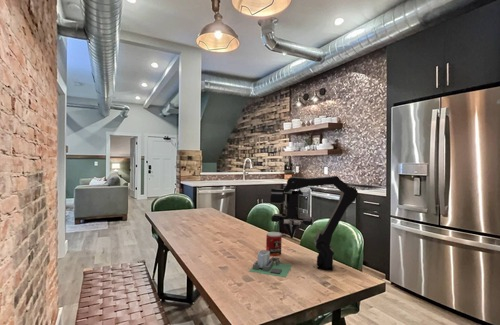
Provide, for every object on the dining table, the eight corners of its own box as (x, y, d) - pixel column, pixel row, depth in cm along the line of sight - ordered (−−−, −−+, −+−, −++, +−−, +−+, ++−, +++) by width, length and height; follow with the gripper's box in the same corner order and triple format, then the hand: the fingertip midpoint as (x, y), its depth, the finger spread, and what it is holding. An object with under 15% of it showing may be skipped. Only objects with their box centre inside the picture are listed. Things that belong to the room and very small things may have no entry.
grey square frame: (273, 265, 126) (273, 260, 126) (268, 271, 118) (268, 267, 118) (258, 263, 128) (258, 258, 128) (252, 269, 121) (253, 264, 121)
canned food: (269, 258, 137) (269, 236, 137) (263, 253, 145) (264, 232, 145) (283, 257, 139) (284, 235, 139) (277, 252, 147) (278, 231, 147)
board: (292, 266, 127) (292, 260, 127) (285, 279, 113) (285, 272, 113) (259, 261, 132) (259, 255, 132) (248, 273, 118) (248, 266, 118)
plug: (269, 264, 125) (269, 250, 125) (265, 269, 119) (266, 254, 119) (260, 263, 126) (261, 249, 126) (256, 267, 121) (257, 253, 121)
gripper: (315, 203, 134) (314, 235, 134) (277, 200, 140) (276, 231, 140) (312, 206, 123) (311, 242, 123) (271, 203, 129) (270, 237, 129)
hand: (291, 237), depth 129 cm, fingers closed
